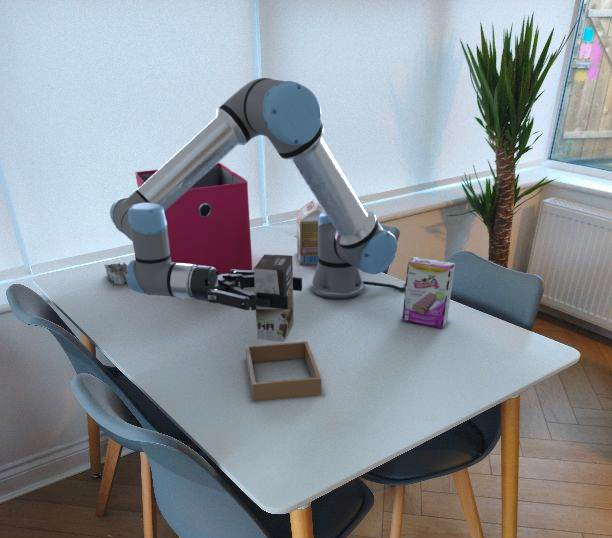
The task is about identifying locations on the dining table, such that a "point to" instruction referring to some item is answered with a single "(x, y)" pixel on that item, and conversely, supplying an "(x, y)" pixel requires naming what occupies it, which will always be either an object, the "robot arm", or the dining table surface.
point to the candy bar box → (428, 292)
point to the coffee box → (274, 280)
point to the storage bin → (210, 221)
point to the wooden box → (283, 386)
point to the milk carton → (308, 233)
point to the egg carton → (117, 272)
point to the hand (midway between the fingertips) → (294, 293)
